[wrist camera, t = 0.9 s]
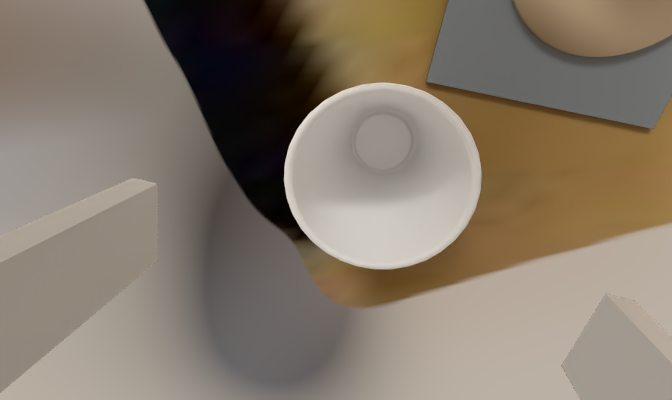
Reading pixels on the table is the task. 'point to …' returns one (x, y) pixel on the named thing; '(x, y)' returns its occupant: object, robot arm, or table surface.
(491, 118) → the table surface
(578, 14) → the coaster
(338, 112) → the cup
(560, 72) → the placemat
